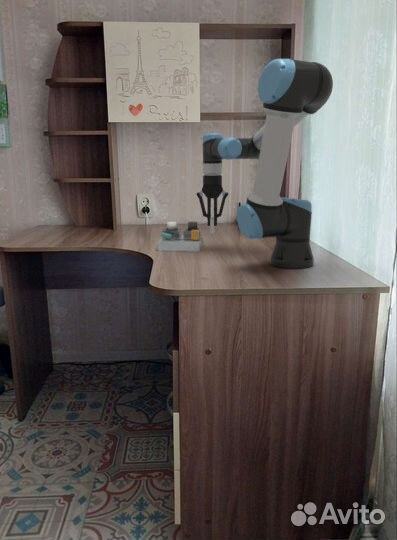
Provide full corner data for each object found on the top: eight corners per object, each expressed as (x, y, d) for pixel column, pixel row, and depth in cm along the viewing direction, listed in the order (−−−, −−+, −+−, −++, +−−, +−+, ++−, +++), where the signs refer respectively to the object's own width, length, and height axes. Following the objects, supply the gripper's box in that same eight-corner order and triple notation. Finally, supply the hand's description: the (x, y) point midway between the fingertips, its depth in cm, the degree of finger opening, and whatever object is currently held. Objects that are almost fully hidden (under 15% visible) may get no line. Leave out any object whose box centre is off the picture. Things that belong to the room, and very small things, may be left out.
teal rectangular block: (170, 238, 175) (171, 235, 174) (161, 236, 175) (161, 233, 175) (171, 237, 177) (172, 234, 177) (162, 235, 177) (162, 232, 177)
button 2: (196, 230, 179) (196, 223, 179) (187, 230, 180) (187, 222, 179) (197, 228, 183) (197, 221, 182) (188, 228, 184) (188, 221, 183)
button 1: (175, 229, 180) (175, 222, 180) (166, 229, 181) (166, 222, 180) (177, 228, 184) (177, 221, 183) (168, 228, 185) (168, 221, 184)
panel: (199, 251, 172) (199, 234, 170) (157, 250, 174) (157, 233, 172) (203, 244, 186) (202, 228, 184) (164, 243, 188) (164, 227, 186)
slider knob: (198, 239, 173) (198, 231, 172) (191, 239, 173) (191, 230, 173) (199, 238, 176) (199, 229, 175) (192, 238, 176) (192, 229, 175)
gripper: (229, 174, 170) (228, 232, 176) (197, 174, 172) (197, 232, 178) (228, 175, 163) (227, 235, 169) (194, 175, 164) (195, 235, 171)
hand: (212, 233), depth 173 cm, fingers closed
